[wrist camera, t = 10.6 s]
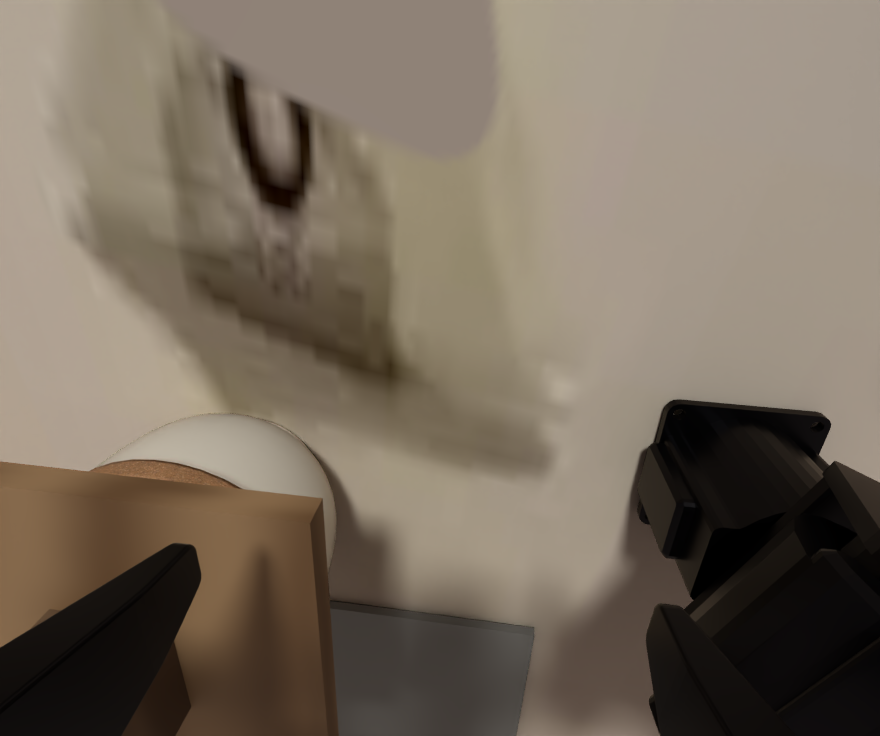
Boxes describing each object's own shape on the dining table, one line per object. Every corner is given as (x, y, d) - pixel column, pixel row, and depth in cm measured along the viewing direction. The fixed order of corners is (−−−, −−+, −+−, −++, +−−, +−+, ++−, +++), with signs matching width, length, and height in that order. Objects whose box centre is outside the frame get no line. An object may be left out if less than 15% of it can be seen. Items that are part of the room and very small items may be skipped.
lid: (322, 498, 14) (246, 647, 10) (341, 774, 19) (298, 941, 15) (-115, 448, 15) (-346, 563, 11) (23, 722, 21) (-96, 866, 16)
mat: (533, 627, 28) (534, 635, 28) (507, 775, 34) (507, 784, 34) (197, 583, 30) (193, 590, 29) (231, 731, 36) (228, 739, 36)
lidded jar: (221, 559, 29) (104, 735, 20) (123, 401, 25) (-74, 537, 16) (392, 531, 26) (340, 717, 18) (313, 352, 22) (198, 481, 14)
